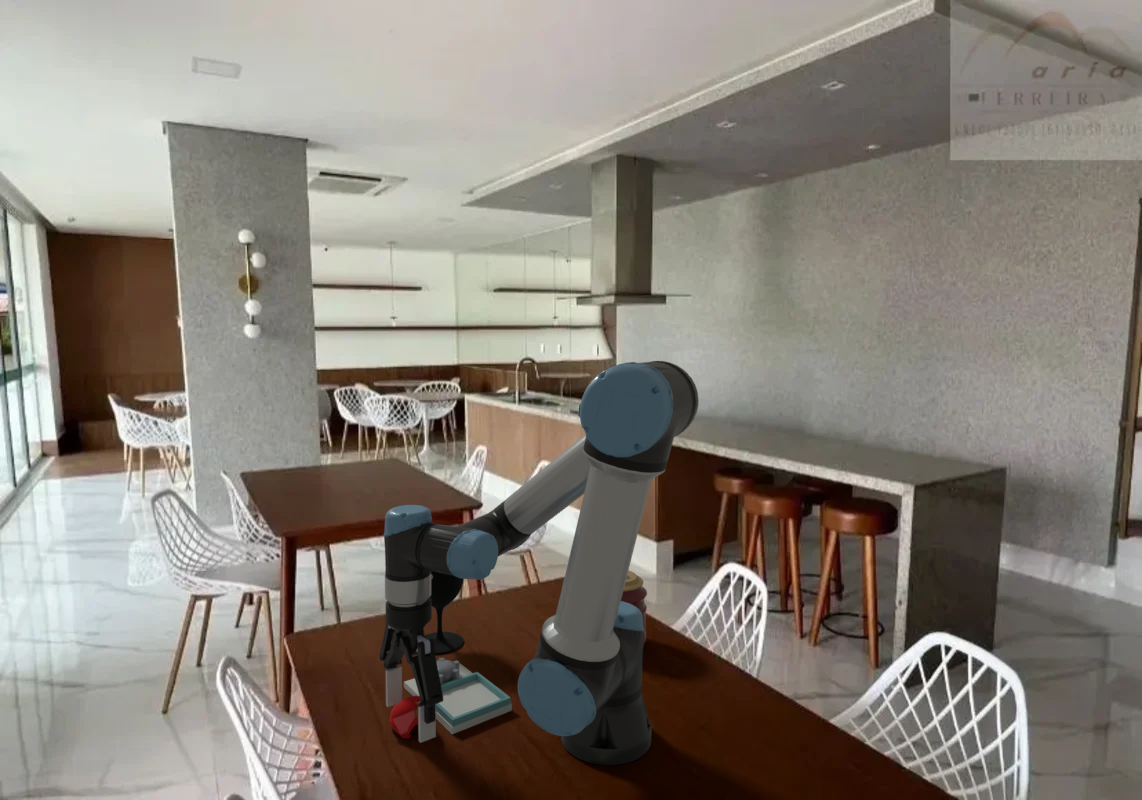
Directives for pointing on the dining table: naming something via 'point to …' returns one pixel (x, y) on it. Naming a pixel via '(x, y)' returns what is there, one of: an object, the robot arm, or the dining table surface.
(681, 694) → the dining table surface
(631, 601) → the canister
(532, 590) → the dining table surface
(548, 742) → the dining table surface
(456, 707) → the carrier board
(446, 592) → the wine glass
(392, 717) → the cap
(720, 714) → the dining table surface
